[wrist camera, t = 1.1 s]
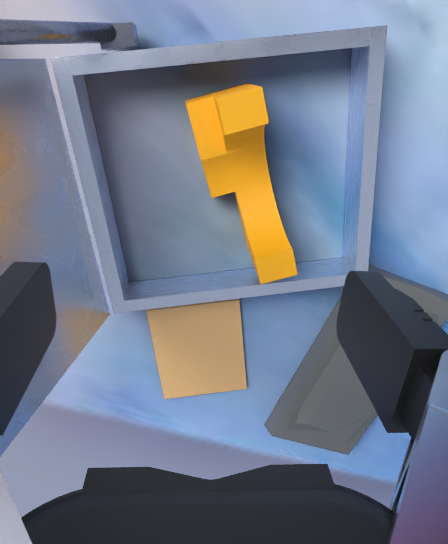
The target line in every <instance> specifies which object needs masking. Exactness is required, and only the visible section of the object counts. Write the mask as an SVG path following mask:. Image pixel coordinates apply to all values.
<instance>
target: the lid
mask: <svg viewBox="0 0 448 544" xmlns="http://www.w3.org/2000/svg"><path fill="white" fill-rule="evenodd" d="M13 262H45V263H47V264H48V266H49V269H50V274H51V281H52V288H53V295H54V302H55V309H56V330H55V334H54V337H53V339H52V341H51V343H50V345H49V347H48V349H47V351H46V353H45V355H44V357H43V359H42V361H41V362H40V364H39V366H38V368H37V370H36V372H35V374H34V376H33V378H32V380H31V382H30V384H29V386H28V388H27V390H26V392H25V394H24V395H23V397H22V399H21V401H20V403H19V405H18V407H17V409H16V411H15V413H14V415H13V417H12V419H11V421H10V423H9V425H8V426H7V428H6V430H5V432H4V434H3V435H0V456H1V455H2V454H3V453H4V451H5V450H6V449H7V447H8V446H9V445H10V443H11V442H12V441H13V440H14V438H15V437H16V436H17V434H18V433H19V432H20V430H21V429H22V428H23V427H24V425H25V424H26V423H27V421H28V420H29V419H30V417H31V416H32V415H33V413H34V412H35V411H36V410H37V408H38V407H39V406H40V404H41V403H42V402H43V401H44V399H45V398H46V397H47V395H48V394H49V393H50V391H51V390H52V389H53V388H54V386H55V385H56V384H57V382H58V381H59V380H60V378H61V377H62V376H63V375H64V373H65V372H66V371H67V369H68V368H69V367H70V365H71V364H72V363H73V362H74V360H75V359H76V358H77V356H78V355H79V354H80V352H81V351H82V350H83V349H84V347H85V346H86V345H87V343H88V342H89V341H90V340H91V338H92V337H93V336H94V334H95V333H96V332H97V330H98V329H99V328H100V327H101V325H102V324H103V323H104V321H105V320H106V319H107V317H108V316H109V315H110V313H109V309H108V306H107V302H106V298H105V294H104V290H103V286H102V282H101V278H100V274H99V270H98V266H97V262H96V258H95V254H94V250H93V246H92V243H91V239H90V235H89V231H88V227H87V223H86V219H85V215H84V211H83V207H82V203H81V199H80V195H79V191H78V187H77V183H76V179H75V176H74V172H73V168H72V164H71V160H70V156H69V152H68V148H67V144H66V140H65V136H64V132H63V128H62V124H61V120H60V116H59V112H58V109H57V105H56V101H55V97H54V93H53V89H52V85H51V81H50V77H49V73H48V69H47V65H46V61H45V59H0V276H1V275H2V274H3V273H4V272H5V271H6V270H7V269H8V268H9V266H10V265H11V264H12V263H13Z"/></svg>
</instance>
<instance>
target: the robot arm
mask: <svg viewBox="0 0 448 544" xmlns="http://www.w3.org/2000/svg"><path fill="white" fill-rule="evenodd" d="M55 330H56V309H55V302H54V295H53V288H52V281H51V274H50V269H49V266H48V264H47V263H45V262H13V263H12V264H11V265H10V266H9V268H8V269H7V270H6V271H5V272H4V273H3V274H2V275H1V276H0V435H3V434H4V432H5V430H6V428H7V426H8V425H9V423H10V421H11V419H12V417H13V415H14V413H15V411H16V409H17V407H18V405H19V403H20V401H21V399H22V397H23V395H24V394H25V392H26V390H27V388H28V386H29V384H30V382H31V380H32V378H33V376H34V374H35V372H36V370H37V368H38V366H39V364H40V362H41V361H42V359H43V357H44V355H45V353H46V351H47V349H48V347H49V345H50V343H51V341H52V339H53V337H54V334H55ZM336 330H337V337H338V340H339V342H340V344H341V346H342V348H343V350H344V352H345V354H346V356H347V357H348V359H349V361H350V363H351V365H352V367H353V369H354V371H355V373H356V374H357V376H358V378H359V380H360V382H361V384H362V386H363V388H364V389H365V391H366V393H367V395H368V397H369V399H370V401H371V403H372V405H373V406H374V408H375V410H376V412H377V414H378V416H379V418H380V420H381V421H382V423H383V425H384V427H385V429H386V431H387V433H405V432H408V433H409V434H410V436H411V440H410V443H409V446H408V448H407V451H406V455H405V458H404V461H403V464H402V467H401V471H400V474H399V477H398V480H397V483H396V487H395V490H394V493H393V496H392V500H391V503H390V506H389V508H387V507H386V506H384V505H383V504H381V503H379V502H377V501H376V500H374V499H372V498H370V497H368V496H366V495H364V494H362V493H359V492H357V491H355V490H352V489H349V488H346V487H343V486H340V485H336V484H334V482H333V479H332V476H331V474H330V470H329V467H328V464H294V465H269V466H265V467H261V468H257V469H253V470H250V471H246V472H242V473H238V474H235V475H231V476H227V477H223V478H220V479H215V480H207V479H201V478H197V477H192V476H188V475H183V474H179V473H174V472H169V471H165V470H160V469H156V468H151V467H121V468H88V470H87V474H86V477H85V481H84V485H83V489H80V490H77V491H73V492H70V493H68V494H65V495H63V496H60V497H57V498H55V499H53V500H51V501H49V502H47V503H45V504H43V505H41V506H39V507H37V508H36V509H34V510H32V511H31V512H29V513H28V514H26V515H25V516H23V517H22V518H21V517H20V515H19V512H18V510H17V508H16V506H15V503H14V501H13V499H12V496H11V494H10V492H9V489H8V487H7V485H6V482H5V480H4V478H3V476H2V473H1V471H0V544H448V335H447V334H446V333H445V332H444V331H443V330H442V328H441V327H440V326H439V325H438V324H437V323H436V322H433V319H432V318H431V317H430V316H429V315H428V314H427V313H426V312H424V309H423V308H422V307H421V306H420V305H419V304H418V303H417V302H416V301H415V300H414V299H413V298H411V297H410V296H408V295H406V294H404V293H403V292H401V291H399V290H398V289H394V288H393V286H392V285H391V284H390V283H389V282H388V281H387V280H386V279H385V278H384V276H383V275H382V274H381V273H380V272H378V271H350V272H349V273H348V274H347V276H346V279H345V284H344V288H343V293H342V298H341V302H340V307H339V312H338V316H337V323H336Z"/></svg>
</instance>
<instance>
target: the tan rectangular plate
mask: <svg viewBox="0 0 448 544" xmlns="http://www.w3.org/2000/svg"><path fill="white" fill-rule="evenodd" d="M146 312H147V316H148V321H149V326H150V331H151V336H152V341H153V346H154V351H155V355H156V360H157V365H158V370H159V375H160V380H161V385H162V389H163V394H164V399H169V398H177V397H185V396H193V395H201V394H209V393H217V392H225V391H233V390H241V389H247V384H246V372H245V360H244V348H243V336H242V324H241V312H240V300H239V299H231V300H222V301H214V302H205V303H197V304H188V305H180V306H171V307H163V308H155V309H147V311H146Z"/></svg>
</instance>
